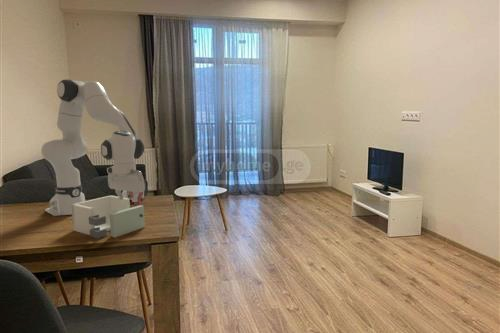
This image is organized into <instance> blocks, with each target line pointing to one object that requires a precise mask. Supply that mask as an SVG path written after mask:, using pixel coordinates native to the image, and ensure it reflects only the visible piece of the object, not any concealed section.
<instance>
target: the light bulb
mask: <svg viewBox="0 0 500 333" xmlns="http://www.w3.org/2000/svg"><path fill="white" fill-rule="evenodd" d="M130 196H131V197H132V198H133V196H134V194H133V192H130ZM142 196H143V192H139V195H138V197H137V200H138V201H137V202H133V203H134V204H133V205H134V207H136V206H139V205H142V202H141V201H142V200H141V198H142Z"/></svg>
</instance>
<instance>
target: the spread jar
mask: <svg viewBox="0 0 500 333" xmlns="http://www.w3.org/2000/svg"><path fill="white" fill-rule="evenodd" d="M144 192H145V190H144V191H143V196H142V198H141V201H142V200H143V199H144V196H145V193H144ZM121 194H122V195H123V198H128V199H130V202H132V197H131V196H130V191H123V190H122V191H121Z"/></svg>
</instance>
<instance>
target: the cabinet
mask: <svg viewBox="0 0 500 333" xmlns="http://www.w3.org/2000/svg"><path fill="white" fill-rule="evenodd" d="M71 206H72V214H71V217H72V227H73V231H74V232H78V233H81V234H84V235H86V236H87V235H88V236H89V237H91V238H94V239H102V238H105V237H107V236H108V232H109V231H111V227H110V213H114V212H118V211H121V210H125V209H128V208H131V201H130V199H128V198H123V199H121V200H119V199H118V196H117V195H106V196H102V197H97V198H94V199H89V200H85V201H84V202H80V203H75V204H71Z"/></svg>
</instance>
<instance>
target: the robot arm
mask: <svg viewBox="0 0 500 333" xmlns="http://www.w3.org/2000/svg"><path fill="white" fill-rule="evenodd" d="M56 87H57V89H56V93H57V96H58V98H59V99H60V103H59V106H58V113H57V115H58V116H57V121H56V127H57V129H58V130H59V131H61V133H62V139H52V140H50V141H47V142H44V143H43V144H42V147H41V155H42V157H43V159H45V160H46V161H48V162H49V163H50V165H51V166H52V168H53V170H54V173H55V179H56V185H57V186H56V187H55V194H54V196H52V198H51V199H50V200H49V202H48V205H49V207H47V208H45V212H46V213H48V214H50V215H51V216H53V217H56V216H68V215H71V216H72V206H71V204H75V203H80V202H84V201H86V198H85V194H84V193H83V192H82V191H83V186H82V184H81V176H80V175H81V174H80V170H79V169H78V168H77V167H75V166H74V164H73V162H72V160H75V159H79V158H82V157H84V156H85V155H86V154H88V150H89V148H88V147H89V145H88V143H87V142H86V140H84V138H83V134H82V125H83V124H82V123H83V117H84V107H85V109H86V112H87V114H88V115H89V116H90V117H91V118H92V119H93V120H96V121H98V122H100V123H106V124H109V125H113V126H114V127H116V128H117V129H119V130H117V131H114V132H113V133H112V136H111V137H109V138H108V139H105V140H104V141H103V142H101V145H100V152H101V156H102V157H103V158H104V159H105V160H106V161H113V165H112V166H109V167H107V168H106V172H107V174H108V175H107V184H108V187H109V188H110V189H111V190H115V194H116V196H117V197H118V199H119V200H121V199H123V195H122V192H123V191H130V192H133V194H134V196H133V198H132V201H131V202H132V203H134V202H137V201H138V200H137V197H138V195H139V192H143V191H144V192H145V190H146V185H145V179H144V176H143V173H142V171H140V170H138V169H137V164H136V163H137V162H136V160H138V159H140V158H141V157H142V156H143V154H144V153H145V144H144V142H143V141H142V140H141V138H140V137H139V136H138V135H137V133H136V132H135V130H134V129H133V126H132V125H131V123H130V122H129V121H128V119H127V117H126V116H125V114H124V113H123V112H122V110H120V109H118V108H117V107H116V106H115V104H113V103H112V102H111V100H110V98H109V95H108V93H107V91H106V90H105V87H104V86H103V85H102V84H101V82H99V81H96V80H89V81H85V80H82V81H80V80H75V79H74V80H72V79H68V78H67V79H62V80H61V81H60V82H58V84H57V86H56Z"/></svg>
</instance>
